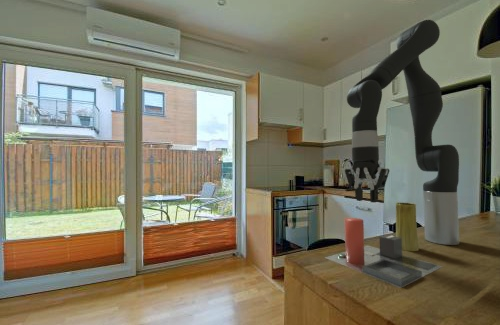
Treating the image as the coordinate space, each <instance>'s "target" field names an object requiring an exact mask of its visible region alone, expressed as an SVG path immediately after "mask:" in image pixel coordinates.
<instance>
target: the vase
mask: <svg viewBox="0 0 500 325" xmlns="http://www.w3.org/2000/svg"><path fill="white" fill-rule="evenodd" d="M416 206H417V204H416V203H414V202H413V203H412V202H396V203H395V237H399V238H402V251H408V252H418V251H419V240H418V229H417V228H418V226H417V210H416V209H417V207H416Z"/></svg>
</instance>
